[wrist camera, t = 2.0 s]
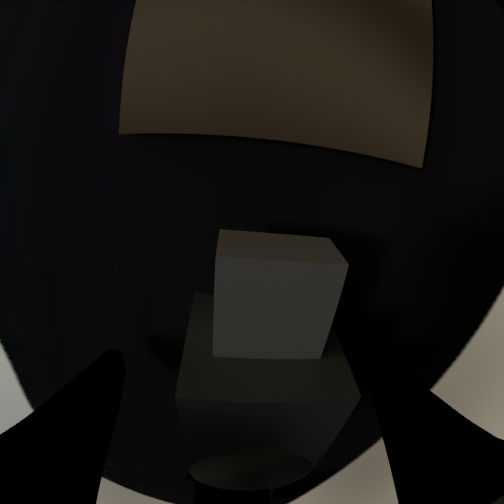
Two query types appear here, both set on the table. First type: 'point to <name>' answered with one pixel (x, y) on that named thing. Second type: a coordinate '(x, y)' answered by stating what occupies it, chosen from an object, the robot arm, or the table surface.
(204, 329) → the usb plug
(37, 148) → the table surface
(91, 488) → the robot arm
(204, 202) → the table surface
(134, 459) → the table surface
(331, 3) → the trivet
